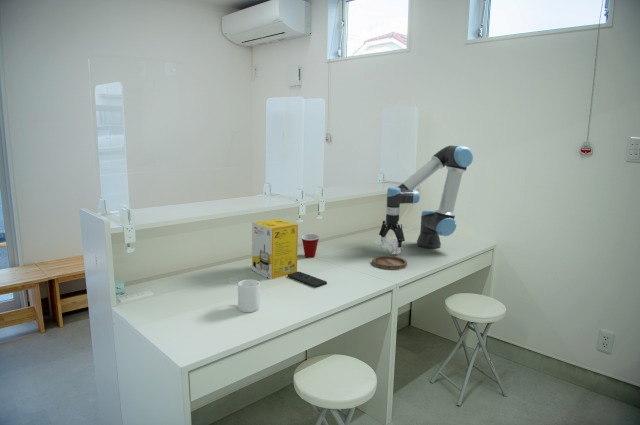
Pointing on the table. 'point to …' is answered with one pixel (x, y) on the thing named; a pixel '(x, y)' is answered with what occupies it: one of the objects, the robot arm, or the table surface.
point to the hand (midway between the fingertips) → (390, 250)
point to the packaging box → (274, 248)
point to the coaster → (389, 262)
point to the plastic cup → (310, 244)
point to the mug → (249, 295)
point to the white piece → (390, 246)
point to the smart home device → (307, 279)
